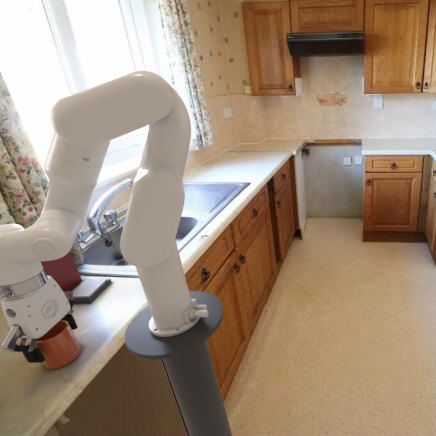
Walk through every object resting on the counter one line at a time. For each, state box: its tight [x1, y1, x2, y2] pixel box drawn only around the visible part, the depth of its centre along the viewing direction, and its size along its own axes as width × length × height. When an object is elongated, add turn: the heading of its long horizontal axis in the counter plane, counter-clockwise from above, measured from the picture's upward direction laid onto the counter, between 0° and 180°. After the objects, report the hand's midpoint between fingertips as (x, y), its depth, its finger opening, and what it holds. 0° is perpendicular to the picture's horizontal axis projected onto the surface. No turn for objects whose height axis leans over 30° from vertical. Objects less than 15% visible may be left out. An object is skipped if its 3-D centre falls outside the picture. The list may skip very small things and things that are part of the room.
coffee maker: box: [69, 278, 113, 305], centre depth 94 cm, size 9×10×15 cm
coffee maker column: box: [40, 251, 83, 292], centre depth 94 cm, size 6×10×17 cm, turn 179°
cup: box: [35, 320, 82, 370], centre depth 74 cm, size 7×7×8 cm
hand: (55, 344), depth 74 cm, fingers open, 9 cm apart
